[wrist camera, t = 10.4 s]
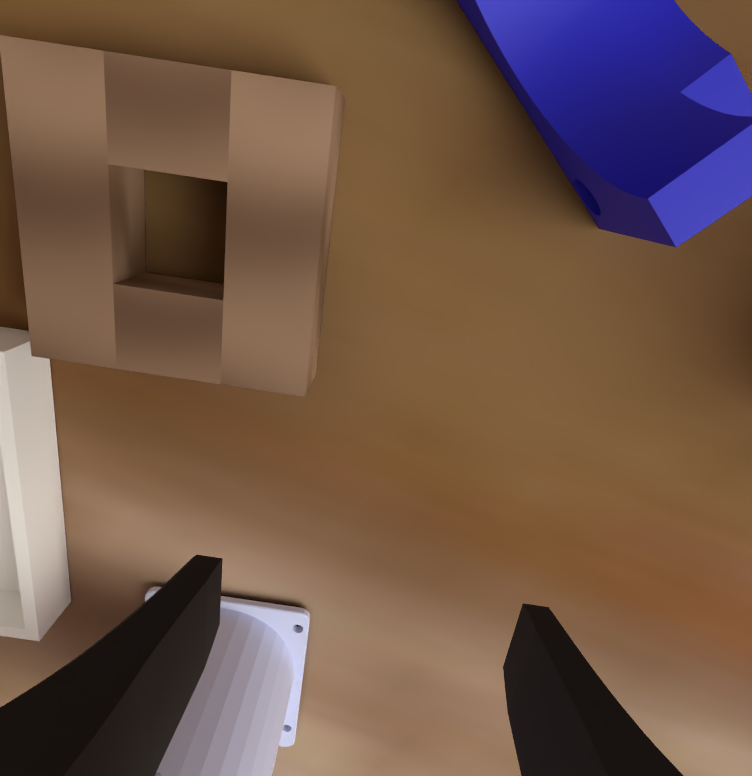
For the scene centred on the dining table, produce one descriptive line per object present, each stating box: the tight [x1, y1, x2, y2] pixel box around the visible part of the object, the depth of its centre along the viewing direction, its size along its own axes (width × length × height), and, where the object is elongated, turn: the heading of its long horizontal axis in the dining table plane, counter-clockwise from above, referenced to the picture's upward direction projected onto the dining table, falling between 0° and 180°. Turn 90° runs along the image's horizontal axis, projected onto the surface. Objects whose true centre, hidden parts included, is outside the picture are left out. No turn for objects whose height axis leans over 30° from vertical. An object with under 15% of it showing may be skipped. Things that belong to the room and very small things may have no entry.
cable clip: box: [457, 0, 752, 247], centre depth 14 cm, size 12×4×6 cm, turn 38°
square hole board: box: [0, 35, 345, 397], centre depth 19 cm, size 10×10×2 cm
